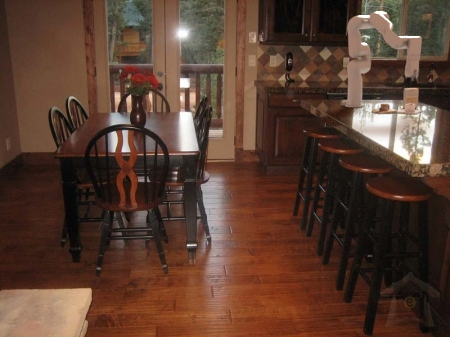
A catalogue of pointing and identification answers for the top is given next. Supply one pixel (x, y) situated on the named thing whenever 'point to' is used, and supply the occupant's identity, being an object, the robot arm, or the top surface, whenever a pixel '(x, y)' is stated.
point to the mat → (409, 112)
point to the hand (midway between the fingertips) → (410, 86)
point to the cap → (409, 107)
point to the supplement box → (410, 96)
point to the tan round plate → (384, 109)
